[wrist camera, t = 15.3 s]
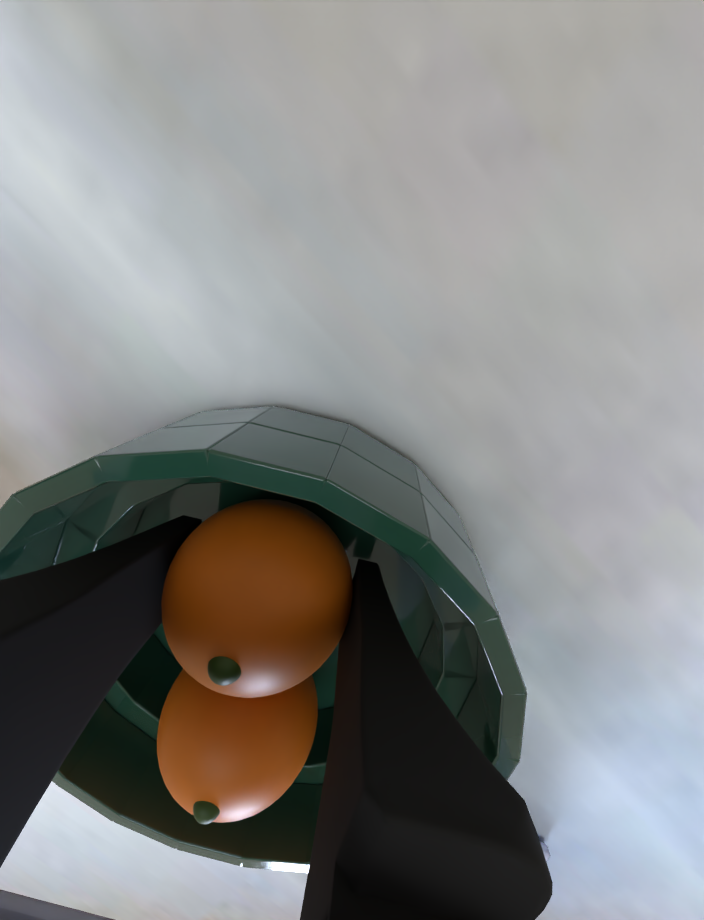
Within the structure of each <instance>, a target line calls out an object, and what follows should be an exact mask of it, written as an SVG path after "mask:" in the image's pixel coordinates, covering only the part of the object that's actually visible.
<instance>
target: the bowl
mask: <svg viewBox="0 0 704 920" xmlns="http://www.w3.org/2000/svg"><path fill="white" fill-rule="evenodd" d="M259 499H273V500H281V501H287V502H290V503H293V504H297V505H299V506H301V507H304V508H306V509H307V510H309V511H311V512H313V513H314V514H316V515H317V516H318V517H320V518H321V519H322V520H323V521H324V522H325V523H326V524H327V525H328V526H329V527H330V528H331V529H332V531H333V532H334V533H335V534H336V535H337V537H338V539H339V540H340V542H341V543H342V545H343V548H344V550H345V552H346V555H347V557H348V560H349V564H350V567H351V573H352V580H353V576H354V573H355V569H356V566H357V562H358V558H359V559H363V560H367V561H371V562H375V563H377V564H378V565H379V567H380V571H381V575H382V578H383V582H384V585H385V588H386V590H387V593H388V596H389V599H390V601H391V604H392V606H393V609H394V611H395V614H396V616H397V619H398V621H399V623H400V625H401V628H402V630H403V632H404V634H405V636H406V638H407V640H408V642H409V644H410V646H411V648H412V650H413V652H414V654H415V656H416V657H417V659H418V661H419V663H420V664H421V666H422V668H423V670H424V671H425V673H426V675H427V676H428V678H429V680H430V681H431V683H432V684H433V686H434V688H435V689H436V691H437V692H438V694H439V695H440V697H441V698H442V699H443V701H444V702H445V704H446V705H447V706H448V708H449V709H450V711H451V712H452V714H453V715H454V716H455V718H456V719H457V721H458V722H459V723H460V725H461V726H462V727H463V729H464V730H465V731H466V733H467V734H468V735H469V736H470V738H471V739H472V740H473V741H474V743H475V744H476V745H477V746H478V748H479V749H480V750H481V751H482V753H483V754H484V755H485V756H486V757H487V759H488V760H489V761H490V762H491V763H492V764H493V765H494V767H495V768H496V769H497V770H498V771H499V772H500V773H501V775H502V776H503V777H504V778H505V779H506V780H508V778H509V777H510V775H511V774H512V772H513V771H514V769H515V768H516V766H517V764H518V763H519V759H520V755H521V746H522V736H523V727H524V717H525V708H526V698H527V692H526V687H525V684H524V681H523V678H522V676H521V673H520V670H519V667H518V665H517V662H516V659H515V657H514V654H513V651H512V648H511V646H510V643H509V640H508V637H507V635H506V632H505V629H504V627H503V624H502V621H501V618H500V616H499V613H498V611H497V608H496V606H495V603H494V601H493V598H492V596H491V593H490V591H489V588H488V586H487V583H486V580H485V578H484V575H483V573H482V570H481V568H480V565H479V563H478V560H477V558H476V555H475V553H474V550H473V548H472V545H471V543H470V540H469V538H468V535H467V533H466V530H465V528H464V525H463V523H462V520H461V518H460V516H459V514H458V513H457V512H456V511H455V510H454V509H453V507H452V506H451V505H450V504H449V503H448V502H447V500H446V499H445V498H444V497H443V496H442V495H441V493H440V492H439V491H438V490H437V489H436V488H435V486H434V485H433V484H432V483H431V482H430V481H429V479H428V478H427V477H426V476H425V475H424V474H423V472H422V471H421V470H420V469H419V468H418V467H417V465H416V464H414V463H413V462H412V461H410V460H408V459H407V458H405V457H404V456H402V455H400V454H399V453H397V452H395V451H394V450H392V449H390V448H389V447H387V446H385V445H384V444H382V443H380V442H379V441H377V440H375V439H374V438H372V437H370V436H369V435H367V434H365V433H364V432H362V431H361V430H359V429H357V428H356V427H354V426H352V425H349V424H347V423H343V422H339V421H335V420H331V419H327V418H323V417H319V416H315V415H311V414H306V413H302V412H298V411H294V410H290V409H286V408H282V407H278V406H275V407H272V406H266V407H253V408H239V409H226V410H213V411H203V412H199V413H196V414H194V415H192V416H189V417H187V418H184V419H182V420H180V421H177V422H175V423H172V424H170V425H168V426H165V427H163V428H160V429H158V430H156V431H153V432H151V433H148V434H146V435H144V436H141V437H139V438H136V439H134V440H132V441H129V442H127V443H124V444H122V445H120V446H117V447H115V448H112V449H110V450H108V451H105V452H103V453H100V454H98V455H96V456H93V457H91V458H89V459H87V460H85V461H82V462H80V463H78V464H76V465H74V466H71V467H69V468H67V469H65V470H63V471H61V472H58V473H56V474H54V475H52V476H50V477H47V478H45V479H43V480H41V481H39V482H37V483H34V484H32V485H30V486H28V487H26V488H23V489H21V490H19V491H17V492H16V493H14V494H12V495H11V496H10V498H9V499H8V500H7V501H6V502H5V504H4V505H3V506H2V507H1V509H0V580H3V579H7V578H11V577H15V576H19V575H23V574H26V573H30V572H33V571H37V570H40V569H43V568H47V567H50V566H53V565H57V564H60V563H63V562H66V561H69V560H72V559H75V558H78V557H80V556H83V555H86V554H88V553H91V552H94V551H96V550H99V549H102V548H104V547H107V546H110V545H112V544H115V543H117V542H120V541H122V540H125V539H127V538H130V537H132V536H134V535H137V534H139V533H142V532H144V531H146V530H149V529H151V528H153V527H156V526H158V525H160V524H163V523H165V522H167V521H170V520H172V519H175V518H177V517H180V516H183V515H185V516H190V517H194V518H198V519H202V522H204V521H205V520H206V519H208V518H209V517H211V516H212V515H213V514H215V513H217V512H219V511H221V510H223V509H225V508H227V507H229V506H232V505H235V504H238V503H241V502H245V501H250V500H259ZM338 648H339V643H338V644H337V646H336V647H335V649H334V651H333V652H332V654H331V655H330V656H329V657H328V659H327V660H326V661H325V662H324V663H323V664H322V665H321V667H320V668H319V669H317V670H316V671H315V672H314V673H313V674H312V676H313V679H314V683H315V687H316V692H317V699H318V718H317V727H316V732H315V736H314V741H313V744H312V747H311V750H310V752H309V755H308V757H307V760H306V762H305V764H304V766H303V768H302V770H301V771H300V773H299V774H298V776H297V777H296V779H295V780H294V782H293V783H292V785H291V786H290V787H289V788H288V789H287V790H286V791H285V793H284V794H283V795H282V796H281V797H280V798H279V799H277V800H276V801H275V802H274V803H273V804H271V805H270V806H269V807H267V808H266V809H264V810H263V811H261V812H259V813H257V814H255V815H253V816H251V817H248V818H245V819H242V820H239V821H234V822H224V823H219V822H211V823H209V824H200V823H198V822H197V821H196V819H195V818H194V815H192V814H190V813H189V812H187V811H186V810H185V809H184V808H182V807H181V806H180V805H179V804H178V803H177V802H176V801H175V799H174V798H173V797H172V795H171V794H170V792H169V790H168V789H167V787H166V785H165V783H164V780H163V778H162V775H161V772H160V768H159V763H158V757H157V734H158V726H159V720H160V716H161V712H162V708H163V706H164V703H165V700H166V698H167V695H168V693H169V691H170V689H171V687H172V685H173V683H174V682H175V680H176V678H177V677H178V675H179V674H180V673H181V671H182V670H183V668H182V667H181V665H180V664H179V663H178V661H177V660H176V658H175V656H174V654H173V653H172V651H171V649H170V647H169V645H168V642H167V639H166V636H165V632H164V628H163V623H161V624H160V625H159V627H158V628H157V629H156V630H155V632H154V633H153V634H152V635H151V637H150V638H149V639H148V640H147V641H146V643H145V644H144V645H143V646H142V648H141V649H140V650H139V651H138V653H137V654H136V655H135V656H134V658H133V659H132V660H131V661H130V663H129V664H128V665H127V667H126V668H125V669H124V671H123V672H122V673H121V675H120V676H119V677H118V679H117V680H116V682H115V683H114V685H113V686H112V688H111V689H110V691H109V692H108V694H107V695H106V697H105V698H104V700H103V701H102V703H101V704H100V706H99V707H98V709H97V710H96V712H95V713H94V715H93V716H92V718H91V719H90V721H89V722H88V724H87V725H86V727H85V729H84V730H83V732H82V733H81V735H80V736H79V738H78V740H77V741H76V743H75V744H74V746H73V747H72V749H71V750H70V752H69V754H68V755H67V757H66V758H65V760H64V762H63V763H62V765H61V766H60V768H59V770H58V771H57V773H56V775H55V776H54V778H53V780H52V781H53V782H54V783H55V784H56V785H58V786H59V787H61V788H62V789H64V790H65V791H67V792H68V793H70V794H71V795H73V796H74V797H76V798H77V799H79V800H80V801H82V802H83V803H85V804H87V805H88V806H90V807H91V808H93V809H94V810H96V811H97V812H99V813H100V814H102V815H103V816H105V817H106V818H108V819H109V820H111V821H114V822H115V823H118V824H120V825H122V826H124V827H127V828H129V829H131V830H133V831H136V832H138V833H140V834H143V835H145V836H147V837H149V838H152V839H154V840H156V841H158V842H161V843H163V844H165V845H167V846H170V847H172V848H174V849H175V848H177V849H178V850H181V851H185V852H188V853H192V854H196V855H200V856H204V857H207V858H211V859H215V860H219V861H223V862H226V863H230V864H234V865H238V866H243V867H248V868H259V869H270V870H281V871H291V872H302V873H308V871H309V865H310V859H311V853H312V847H313V842H314V836H315V830H316V824H317V818H318V812H319V806H320V800H321V794H322V787H323V781H324V775H325V769H326V763H327V756H328V750H329V744H330V738H331V731H332V722H333V713H334V700H335V687H336V674H337V661H338Z"/></svg>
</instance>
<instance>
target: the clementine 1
mask: <svg viewBox="0 0 704 920" xmlns="http://www.w3.org/2000/svg"><path fill="white" fill-rule="evenodd" d="M352 595H353V581H352V573H351V567H350V564H349V560H348V557H347V555H346V552H345V550H344V548H343V545H342V543H341V542H340V540H339V539H338V537H337V535H336V534H335V533H334V532H333V531H332V529H331V528H330V527H329V526H328V525H327V524H326V523H325V522H324V521H323V520H322V519H321V518H320V517H318V516H317V515H316V514H314V513H313V512H311V511H309V510H307V509H306V508H304V507H301V506H299V505H297V504H293V503H290V502H287V501H281V500H273V499H259V500H250V501H245V502H241V503H238V504H235V505H232V506H229V507H227V508H225V509H223V510H221V511H219V512H217V513H215V514H213V515H212V516H211V517H209V518H208V519H206V520H205V521H204V522H202V523H201V524H200V525H199V526H198V527H197V528H196V529H195V530H194V531H193V532H192V533H191V534H190V535H189V536H188V537H187V538H186V540H185V541H184V542H183V544H182V545H181V546H180V548H179V549H178V551H177V553H176V555H175V556H174V558H173V560H172V562H171V564H170V567H169V569H168V572H167V575H166V578H165V582H164V586H163V593H162V601H161V610H162V623H163V628H164V632H165V636H166V639H167V642H168V645H169V647H170V649H171V651H172V653H173V654H174V656H175V658H176V660H177V661H178V663H179V664H180V665H181V667H182V668H183V669H184V670H185V671H186V672H187V673H188V674H189V675H190V676H191V677H193V678H194V679H195V680H196V681H198V682H199V683H200V684H202V685H204V686H205V687H207V688H209V689H211V690H213V691H216V692H218V693H221V694H224V695H229V696H234V697H242V698H255V697H263V696H268V695H272V694H276V693H279V692H282V691H285V690H287V689H289V688H291V687H293V686H295V685H297V684H299V683H300V682H302V681H304V680H305V679H306V678H308V677H309V676H310V675H312V674H313V673H314V672H315V671H316V670H317V669H319V668H320V667H321V665H322V664H323V663H324V662H325V661H326V660H327V659H328V657H329V656H330V655H331V654H332V652H333V651H334V649H335V647H336V646H337V644H338V643H339V641H340V639H341V637H342V635H343V633H344V630H345V628H346V625H347V622H348V619H349V615H350V610H351V603H352Z"/></svg>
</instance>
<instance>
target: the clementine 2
mask: <svg viewBox="0 0 704 920" xmlns="http://www.w3.org/2000/svg"><path fill="white" fill-rule="evenodd" d="M317 718H318V699H317V692H316V687H315V683H314V679H313V676H312V675H310V676H309V677H308V678H306V679H305V680H304V681H302V682H300V683H299V684H297V685H295V686H293V687H291V688H289V689H287V690H285V691H282V692H279V693H276V694H272V695H268V696H263V697H255V698H242V697H234V696H229V695H224V694H221V693H218V692H216V691H213V690H211V689H209V688H207V687H205V686H204V685H202V684H200V683H199V682H198V681H196V680H195V679H194V678H193V677H191V676H190V675H189V674H188V673H187V672H186V671H185V670H184V669H183V670H182V671H181V673H180V674H179V675H178V677H177V678H176V680H175V682H174V683H173V685H172V687H171V689H170V691H169V693H168V695H167V698H166V700H165V703H164V706H163V708H162V712H161V716H160V720H159V726H158V734H157V757H158V763H159V768H160V772H161V775H162V778H163V780H164V783H165V785H166V787H167V789H168V790H169V792H170V794H171V795H172V797H173V798H174V799H175V801H176V802H177V803H178V804H179V805H180V806H181V807H182V808H184V809H185V810H186V811H187V812H189V813H190V814H192V815H194V818H195V819H196V821H197V822H198V823H200V824H209V823H211V822H219V823H224V822H234V821H239V820H242V819H245V818H248V817H251V816H253V815H255V814H257V813H259V812H261V811H263V810H264V809H266V808H267V807H269V806H270V805H271V804H273V803H274V802H275V801H276V800H277V799H279V798H280V797H281V796H282V795H283V794H284V793H285V791H286V790H287V789H288V788H289V787H290V786H291V785H292V783H293V782H294V780H295V779H296V777H297V776H298V774H299V773H300V771H301V770H302V768H303V766H304V764H305V762H306V760H307V757H308V755H309V752H310V750H311V747H312V744H313V741H314V736H315V732H316V727H317Z"/></svg>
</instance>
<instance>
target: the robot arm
mask: <svg viewBox="0 0 704 920" xmlns="http://www.w3.org/2000/svg"><path fill="white" fill-rule="evenodd" d="M201 523H202V519H198V518H194V517H190V516H185V515H183V516H180V517H177V518H175V519H172V520H170V521H167V522H165V523H163V524H160V525H158V526H156V527H153V528H151V529H149V530H146V531H144V532H142V533H139V534H137V535H134V536H132V537H130V538H127V539H125V540H122V541H120V542H117V543H115V544H112V545H110V546H107V547H104V548H102V549H99V550H96V551H94V552H91V553H88V554H86V555H83V556H80V557H78V558H75V559H72V560H69V561H66V562H63V563H60V564H57V565H53V566H50V567H47V568H43V569H40V570H37V571H33V572H30V573H26V574H23V575H19V576H15V577H11V578H7V579H3V580H0V867H1V865H2V864H3V862H4V860H5V859H6V857H7V855H8V853H9V852H10V850H11V848H12V847H13V845H14V843H15V841H16V840H17V838H18V836H19V835H20V833H21V831H22V829H23V828H24V826H25V824H26V823H27V821H28V819H29V817H30V816H31V814H32V812H33V811H34V809H35V807H36V806H37V804H38V802H39V801H40V799H41V797H42V796H43V794H44V793H45V791H46V789H47V788H48V786H49V784H50V783H51V781H52V780H53V778H54V776H55V775H56V773H57V771H58V770H59V768H60V766H61V765H62V763H63V762H64V760H65V758H66V757H67V755H68V754H69V752H70V750H71V749H72V747H73V746H74V744H75V743H76V741H77V740H78V738H79V736H80V735H81V733H82V732H83V730H84V729H85V727H86V725H87V724H88V722H89V721H90V719H91V718H92V716H93V715H94V713H95V712H96V710H97V709H98V707H99V706H100V704H101V703H102V701H103V700H104V698H105V697H106V695H107V694H108V692H109V691H110V689H111V688H112V686H113V685H114V683H115V682H116V680H117V679H118V677H119V676H120V675H121V673H122V672H123V671H124V669H125V668H126V667H127V665H128V664H129V663H130V661H131V660H132V659H133V658H134V656H135V655H136V654H137V653H138V651H139V650H140V649H141V648H142V646H143V645H144V644H145V643H146V641H147V640H148V639H149V638H150V637H151V635H152V634H153V633H154V632H155V630H156V629H157V628H158V627H159V625H160V624H161V623H162V610H161V601H162V593H163V586H164V582H165V578H166V575H167V572H168V569H169V567H170V564H171V562H172V560H173V558H174V556H175V555H176V553H177V551H178V549H179V548H180V546H181V545H182V544H183V542H184V541H185V540H186V538H187V537H188V536H189V535H190V534H191V533H192V532H193V531H194V530H195V529H196V528H197V527H198V526H199V525H200V524H201ZM352 581H353V595H352V603H351V610H350V615H349V619H348V622H347V625H346V628H345V630H344V633H343V635H342V637H341V639H340V641H339V648H338V661H337V674H336V687H335V700H334V713H333V722H332V731H331V738H330V744H329V750H328V756H327V763H326V769H325V775H324V781H323V787H322V794H321V800H320V806H319V812H318V818H317V824H316V830H315V836H314V842H313V847H312V853H311V859H310V865H309V871H308V877H307V883H306V888H305V894H304V900H303V906H302V911H301V917H300V920H535V919H536V918H537V917H538V916H539V915H540V914H541V913H542V911H543V910H544V909H545V907H546V905H547V903H548V902H549V900H550V898H551V895H552V880H551V876H550V873H549V870H548V866H547V863H546V862H547V861H548V860H549V858H550V853H549V850H548V847H547V845H546V844H545V843H543V842H540V840H539V837H538V835H537V832H536V829H535V826H534V824H533V821H532V819H531V816H530V814H529V811H528V808H527V805H526V803H525V801H524V799H523V798H522V797H521V796H520V795H519V794H518V793H517V792H516V790H515V789H514V788H513V787H512V786H511V785H510V784H509V782H508V781H507V780H506V779H505V778H504V777H503V776H502V775H501V773H500V772H499V771H498V770H497V769H496V768H495V767H494V765H493V764H492V763H491V762H490V761H489V760H488V759H487V757H486V756H485V755H484V754H483V753H482V751H481V750H480V749H479V748H478V746H477V745H476V744H475V743H474V741H473V740H472V739H471V738H470V736H469V735H468V734H467V733H466V731H465V730H464V729H463V727H462V726H461V725H460V723H459V722H458V721H457V719H456V718H455V716H454V715H453V714H452V712H451V711H450V709H449V708H448V706H447V705H446V704H445V702H444V701H443V699H442V698H441V697H440V695H439V694H438V692H437V691H436V689H435V688H434V686H433V684H432V683H431V681H430V680H429V678H428V676H427V675H426V673H425V671H424V670H423V668H422V666H421V664H420V663H419V661H418V659H417V657H416V656H415V654H414V652H413V650H412V648H411V646H410V644H409V642H408V640H407V638H406V636H405V634H404V632H403V630H402V628H401V625H400V623H399V621H398V619H397V616H396V614H395V611H394V609H393V606H392V604H391V601H390V599H389V596H388V593H387V590H386V588H385V585H384V582H383V578H382V575H381V571H380V567H379V565H378V564H377V563H375V562H371V561H367V560H363V559H359V558H358V562H357V566H356V569H355V573H354V576H353V580H352ZM0 920H114V919H110V918H106V917H103V916H99V915H95V914H91V913H87V912H84V911H80V910H76V909H72V908H68V907H65V906H61V905H57V904H53V903H49V902H46V901H42V900H38V899H34V898H30V897H26V896H23V895H19V894H15V893H11V892H7V891H4V890H0Z"/></svg>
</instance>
